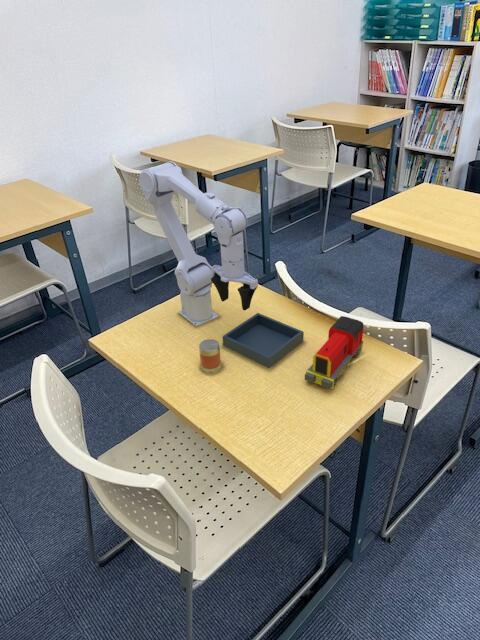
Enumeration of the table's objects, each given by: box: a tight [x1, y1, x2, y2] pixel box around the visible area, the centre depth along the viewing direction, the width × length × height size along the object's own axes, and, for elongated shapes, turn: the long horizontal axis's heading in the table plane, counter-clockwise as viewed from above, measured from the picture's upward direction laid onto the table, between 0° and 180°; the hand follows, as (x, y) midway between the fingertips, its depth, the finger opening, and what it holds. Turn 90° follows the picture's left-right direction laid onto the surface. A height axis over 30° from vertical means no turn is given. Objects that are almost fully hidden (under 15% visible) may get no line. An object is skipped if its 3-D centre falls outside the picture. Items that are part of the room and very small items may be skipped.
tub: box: [222, 312, 305, 369], centre depth 127 cm, size 16×15×4 cm
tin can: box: [198, 338, 222, 373], centre depth 119 cm, size 5×5×7 cm
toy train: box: [304, 315, 365, 390], centre depth 116 cm, size 7×19×10 cm, turn 146°
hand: (235, 304), depth 128 cm, fingers open, 7 cm apart
